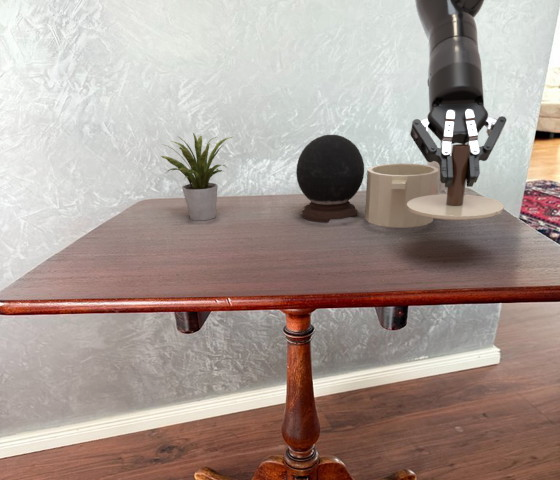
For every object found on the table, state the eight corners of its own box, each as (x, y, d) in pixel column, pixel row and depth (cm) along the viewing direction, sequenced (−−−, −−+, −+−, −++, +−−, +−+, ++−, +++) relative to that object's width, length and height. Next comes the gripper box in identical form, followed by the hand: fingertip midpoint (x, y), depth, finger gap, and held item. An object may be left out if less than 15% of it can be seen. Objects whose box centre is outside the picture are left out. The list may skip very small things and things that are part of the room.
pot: (433, 211, 110) (439, 161, 105) (431, 236, 95) (437, 179, 90) (371, 209, 113) (373, 160, 108) (359, 233, 98) (361, 178, 93)
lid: (499, 202, 84) (509, 138, 79) (506, 225, 72) (518, 152, 68) (409, 200, 87) (414, 139, 82) (402, 222, 76) (407, 153, 71)
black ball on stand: (284, 215, 111) (281, 135, 103) (332, 204, 118) (333, 129, 110) (326, 227, 102) (327, 141, 94) (376, 215, 108) (380, 133, 101)
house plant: (222, 204, 121) (215, 124, 113) (253, 216, 111) (248, 129, 102) (162, 215, 114) (150, 130, 106) (190, 228, 104) (179, 136, 96)
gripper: (410, 62, 77) (413, 168, 73) (511, 58, 76) (521, 165, 71) (403, 101, 84) (406, 199, 80) (496, 98, 83) (503, 198, 78)
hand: (460, 183), depth 76 cm, fingers closed on lid, 2 cm apart
